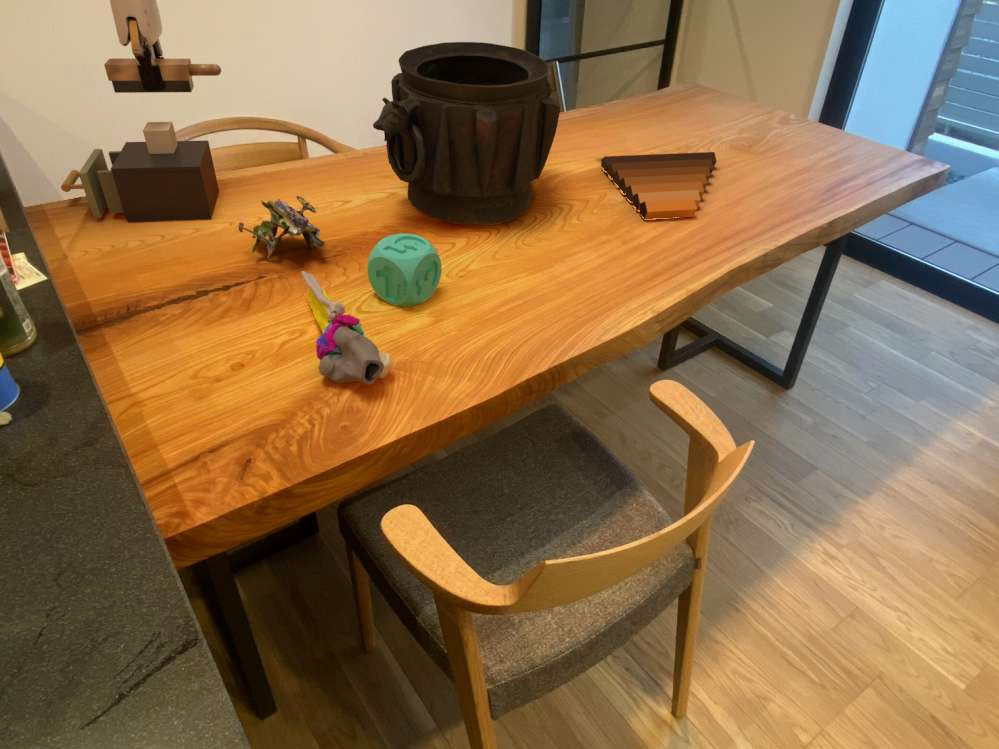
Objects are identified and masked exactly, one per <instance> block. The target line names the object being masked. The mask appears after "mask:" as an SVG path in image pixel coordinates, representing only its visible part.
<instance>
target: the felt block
mask: <svg viewBox="0 0 999 749" xmlns="http://www.w3.org/2000/svg"><path fill="white" fill-rule="evenodd" d="M142 134H143V136H144V142H146V144H147V148H148V151H149V154H170V153H175V150H176V148H177V145H178V143H177V141H178V140H177V136H176V131H175V127H174V122H173V121H147V122H146V123H145V126H144V128H143V129H142Z"/></svg>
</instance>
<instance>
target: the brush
mask: <svg viewBox="0 0 999 749" xmlns="http://www.w3.org/2000/svg"><path fill="white" fill-rule="evenodd" d="M155 60H156V65H159V68H160V72H161V76H162V80H163V84H164V90H163V91H145V90H144V89H143V86H142V82H141V78H140V75H139V71H138V67H137V64H136V60H135V58H108V59H107V61H106V62H104V63H103V66H104V70H105V73H106V76H107V79H108V81H109V82H110V81H111V84H112V88H113V91H114V93H116V94H118V93H120V94H123V93H124V94H125V93H126V94H127V93H128V94H130V93H131V94H132V93H133V94H134V93H135V94H136V93H140V94H141V93H143V94H144V93H147V94H149V93H192V91H193V90H194V88H195V85H194V80H193V77H196V76H197V77H201V76H202V77H204V76H206V77H207V76H209V77H212V76H213V77H216V76H220V75H221V73H222V68H221V66H220V65H219V64H217V63H192V61H191V58H164V59H155Z"/></svg>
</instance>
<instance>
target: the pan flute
mask: <svg viewBox="0 0 999 749" xmlns="http://www.w3.org/2000/svg"><path fill="white" fill-rule="evenodd" d="M716 163H717V158H716V153H715V151H705V152H703V151H702V152H679V153H657V154H653V153H652V154H632V155H609V156H608V155H607V156H603V157H602V158H601V160H600V167H601V166H602V167H603V168H604V170H605V171H607V173H608V174H609V175H610V176H611V178H613V180H614V182H615V183H616V184H617V185H618V186H619V188H620V189H621V190H622V191H623V193H624V194H625V193H626V196H625V198H626V197H627V198H628V199H629V200H630V201H631V202H633V204H632V205H634V206H635V207H636V209H637V210H640V212H639V214H641V215H642V216H643V217H644V219H653V218H673V217H674V218H675V217H693V218H694V216H695V215H696V213H697V210H698V207H699V205H700V203H701V200H702V197H703V195H704V193H705V190H706V188H707V186H708V182H709V181H710V178H711V176H712V173H713V170H714V168H715V165H716ZM619 188H618V189H619Z"/></svg>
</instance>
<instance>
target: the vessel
mask: <svg viewBox="0 0 999 749" xmlns="http://www.w3.org/2000/svg"><path fill="white" fill-rule="evenodd" d="M398 64H399V69H400V72H399V73H396V74H395V75H394V76H393V77H392V79H391V82H390V83H391V98H392V100H389V99H387V97H383V98H382V99H381V101H382V102H383V103H384V105H383V107H382V109H381V112H380V114H379V117H378V119H376V121H374V122H373V123H372V127H373V129H375V130H377V131H380V132H381V131H382V132H383V134H384V139H383V140H384V141H383V142H386V143H385V144H386V152H387V159H388V164H389V165H390V166H391V169H392V171H393V172H394V174H395V175H396V176H397V178H398V179H399V180H400V181H402V182H405V183H408V185H407V194H406V195H407V198H408V199H407V200H408V201H409V203H410V204H411V205H412V206H413V207H414V208H415V209H416V210H417V211H419V212H421V213H423V214H425V215H426V216H428V217H429V218H433V219H436V220H440V221H442V222H447V223H451V224H455V225H463V226H489V225H493V226H494V225H498V224H499V225H500V224H504V223H507V222H511V221H514V220H516V219H517V218H520V217H521V216H522V215H524V214H525V213H526V212H527V211H529V210H530V207H531V203H532V200H533V195H532V194H533V192H532V182H534V181H535V180H538V179H539V178H540V177H541V174H542V172H543V170H544V169H545V166H546V163H547V160H548V157H549V155H550V152H551V149H552V146H553V142H554V139H555V137H556V133H557V128H558V124H559V123H558V122H559V119H560V111H561V110H560V107H561V106H560V105H559V104H558V103H557V101H556V99H555V98H553V97H551V95H552V92H553V88H552V83H551V82H550V81H549V74H550V67H549V64H548V63H547V62H546V60H544V59H543V58H542V57H539V56H538V55H536V54H534V53H532V52H530V51H528V50H525V49H521V48H519V47H513V46H507V45H502V44H496V43H490V42H482V41H481V42H478V41H452V42H451V41H450V42H440V43H434V44H433V43H432V44H428V45H423V46H418V47H415V48H412V49H409V50H406V51H404V53H402V54H401V55H400V56H399V58H398Z"/></svg>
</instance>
